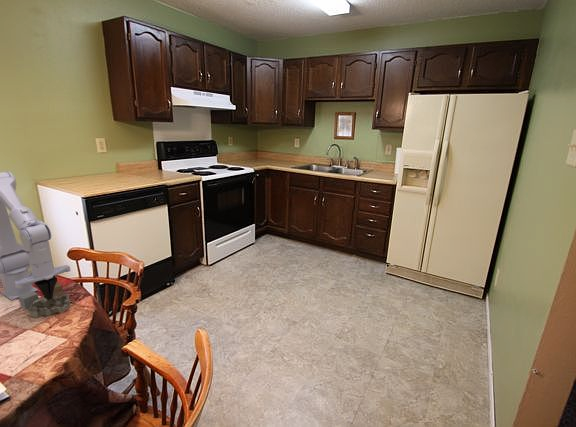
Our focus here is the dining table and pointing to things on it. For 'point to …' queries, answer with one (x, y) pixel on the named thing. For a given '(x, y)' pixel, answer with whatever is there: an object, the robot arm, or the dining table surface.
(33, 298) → the slate-grey block
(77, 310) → the dining table surface
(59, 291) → the walnut block
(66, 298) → the grey piece
